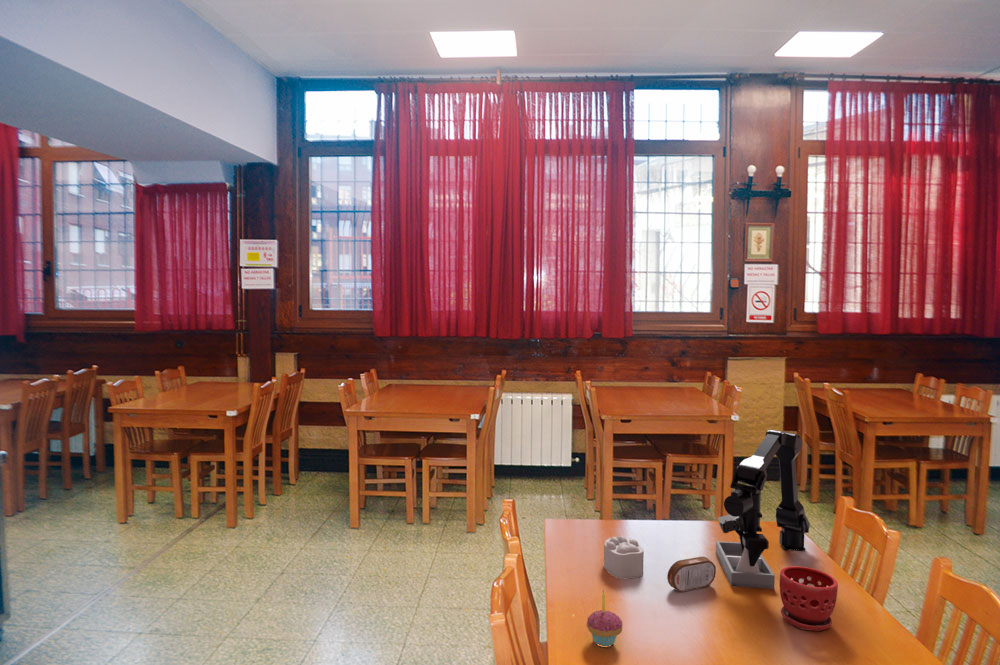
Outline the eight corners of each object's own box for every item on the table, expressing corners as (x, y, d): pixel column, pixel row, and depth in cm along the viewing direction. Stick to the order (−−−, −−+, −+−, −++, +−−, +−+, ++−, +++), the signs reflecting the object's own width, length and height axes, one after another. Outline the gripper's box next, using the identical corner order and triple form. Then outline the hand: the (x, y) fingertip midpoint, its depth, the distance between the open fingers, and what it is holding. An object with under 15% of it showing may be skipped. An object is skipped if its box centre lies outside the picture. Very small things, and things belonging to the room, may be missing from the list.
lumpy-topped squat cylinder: (615, 580, 181) (615, 551, 180) (597, 561, 194) (597, 534, 193) (647, 576, 184) (648, 547, 183) (627, 557, 196) (628, 530, 196)
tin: (710, 581, 180) (710, 553, 180) (717, 586, 177) (718, 557, 177) (666, 590, 175) (666, 561, 174) (673, 595, 172) (673, 565, 171)
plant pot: (834, 641, 150) (835, 593, 149) (774, 625, 157) (776, 579, 156) (838, 617, 161) (839, 572, 160) (782, 603, 168) (783, 560, 167)
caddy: (753, 555, 198) (754, 543, 197) (774, 589, 176) (774, 575, 175) (715, 553, 199) (715, 541, 199) (731, 586, 177) (731, 572, 177)
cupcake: (583, 633, 153) (583, 585, 152) (617, 631, 154) (617, 584, 153) (591, 653, 144) (591, 603, 144) (627, 651, 145) (627, 601, 144)
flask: (756, 569, 185) (757, 536, 185) (765, 581, 178) (766, 547, 178) (731, 568, 186) (732, 536, 185) (739, 580, 179) (740, 546, 178)
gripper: (714, 495, 191) (713, 545, 192) (727, 517, 173) (726, 572, 174) (752, 497, 189) (751, 547, 191) (770, 519, 171) (768, 575, 172)
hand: (748, 560), depth 182 cm, fingers open, 8 cm apart
